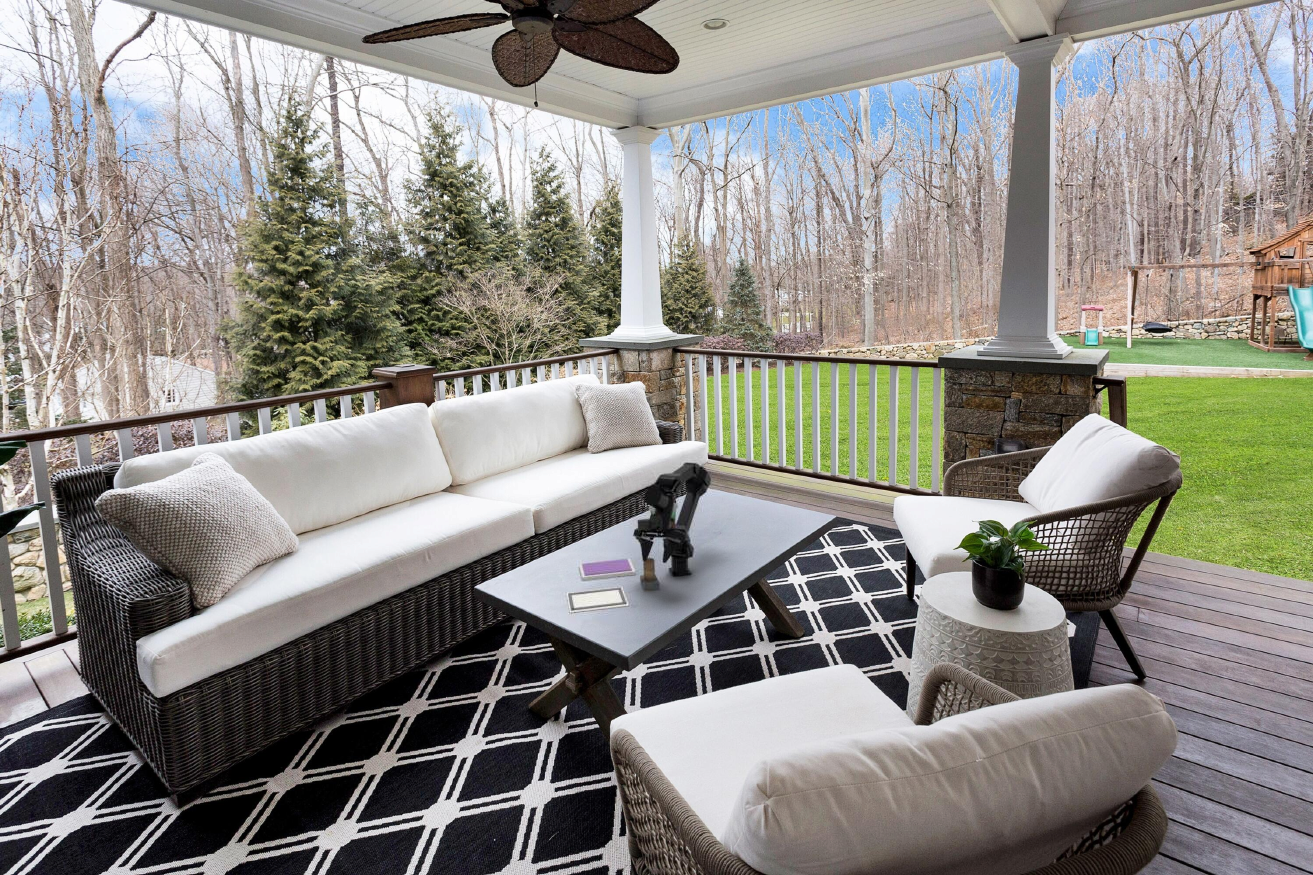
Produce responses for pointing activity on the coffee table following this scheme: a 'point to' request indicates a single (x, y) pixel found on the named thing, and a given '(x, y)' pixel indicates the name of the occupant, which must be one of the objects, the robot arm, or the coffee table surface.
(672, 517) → the food container
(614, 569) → the ink pad
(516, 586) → the coffee table surface
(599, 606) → the marked board
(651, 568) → the stamp
